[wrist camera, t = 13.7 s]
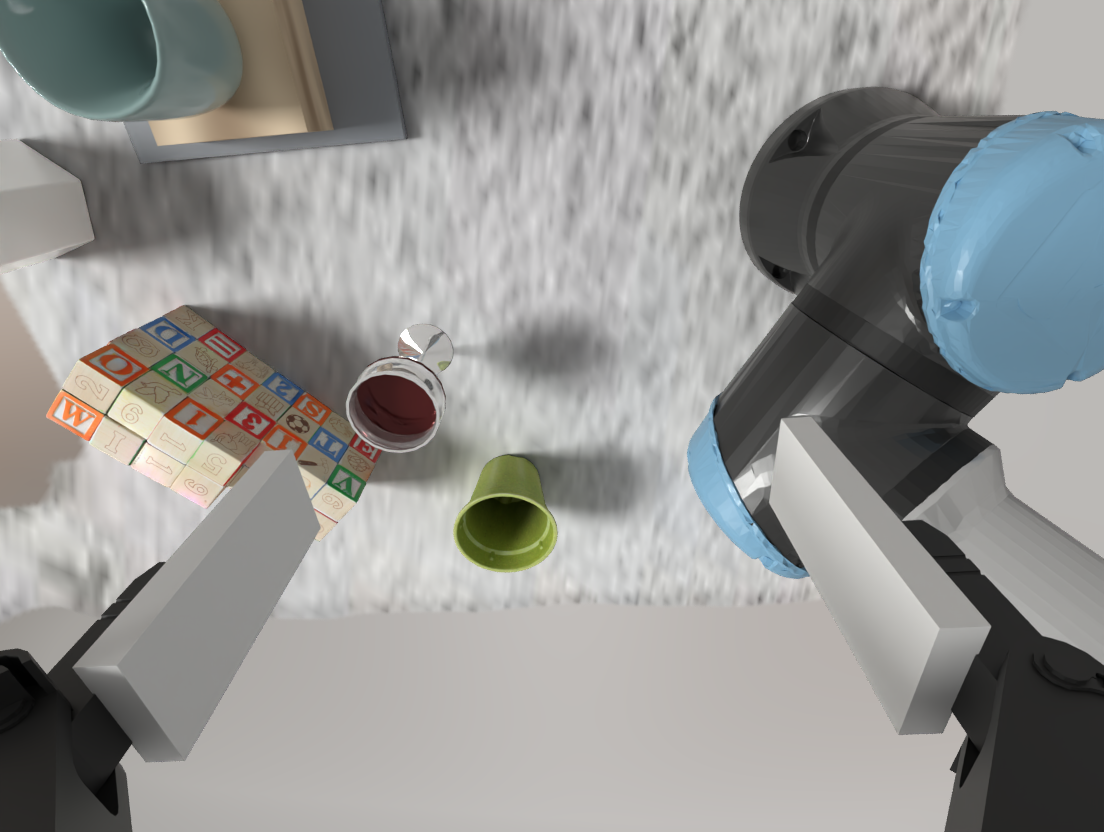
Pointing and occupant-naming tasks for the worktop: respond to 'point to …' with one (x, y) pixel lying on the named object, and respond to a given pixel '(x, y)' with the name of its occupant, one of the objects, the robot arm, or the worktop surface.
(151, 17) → the cup
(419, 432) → the wineglass
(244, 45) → the oak riser
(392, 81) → the base board
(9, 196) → the jar
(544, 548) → the plant pot
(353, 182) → the worktop surface
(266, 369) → the stack of blocks
